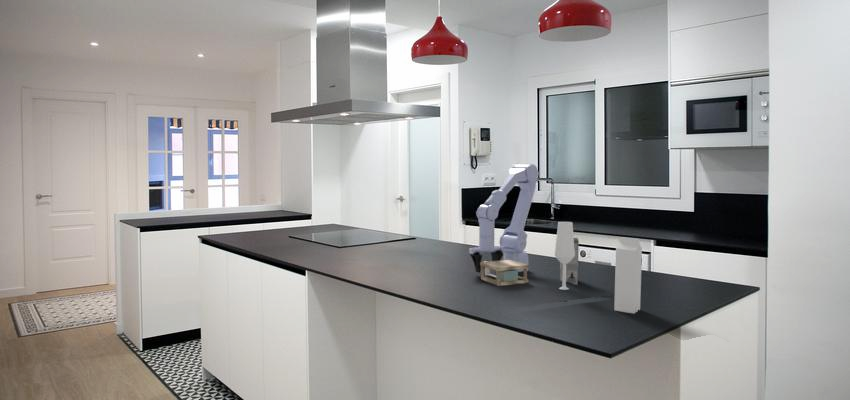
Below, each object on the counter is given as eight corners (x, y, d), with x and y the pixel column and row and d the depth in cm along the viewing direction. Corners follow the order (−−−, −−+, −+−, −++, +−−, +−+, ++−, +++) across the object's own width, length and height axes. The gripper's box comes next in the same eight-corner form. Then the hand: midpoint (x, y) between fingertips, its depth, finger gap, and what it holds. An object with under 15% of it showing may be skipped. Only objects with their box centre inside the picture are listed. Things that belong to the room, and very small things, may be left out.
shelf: (497, 275, 223) (498, 256, 223) (528, 285, 205) (528, 264, 205) (469, 278, 218) (469, 258, 217) (497, 289, 200) (497, 267, 199)
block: (491, 273, 221) (491, 260, 221) (517, 282, 205) (518, 268, 205) (477, 274, 219) (477, 261, 218) (503, 284, 202) (503, 270, 202)
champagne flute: (552, 293, 194) (554, 223, 192) (555, 289, 200) (556, 221, 199) (573, 294, 192) (574, 223, 190) (574, 290, 198) (576, 221, 196)
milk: (620, 306, 177) (622, 236, 175) (640, 309, 173) (642, 237, 172) (613, 310, 172) (615, 238, 170) (634, 313, 168) (636, 239, 167)
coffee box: (559, 279, 217) (560, 237, 216) (576, 279, 216) (577, 237, 215) (560, 284, 208) (561, 240, 207) (578, 285, 207) (579, 241, 206)
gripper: (475, 238, 211) (475, 274, 212) (508, 236, 217) (508, 271, 218) (466, 236, 217) (466, 271, 218) (498, 234, 223) (498, 268, 224)
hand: (486, 271), depth 218 cm, fingers open, 7 cm apart
